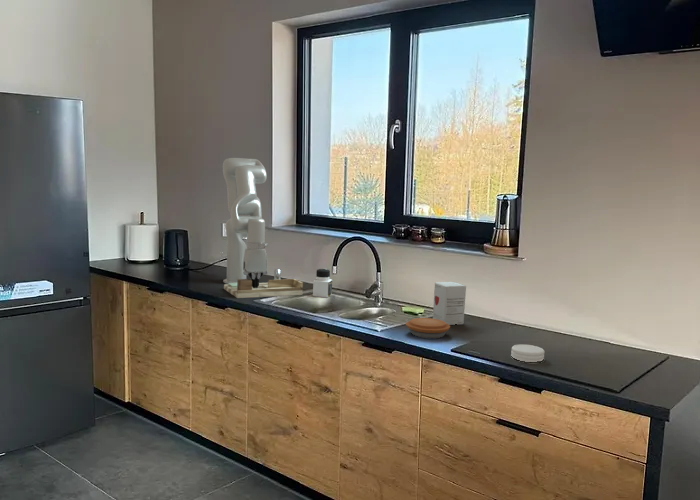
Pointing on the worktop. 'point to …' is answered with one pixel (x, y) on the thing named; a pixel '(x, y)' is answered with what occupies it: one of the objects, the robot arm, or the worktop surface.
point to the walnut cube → (244, 284)
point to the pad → (233, 285)
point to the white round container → (527, 353)
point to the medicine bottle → (322, 283)
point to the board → (269, 289)
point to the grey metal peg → (277, 274)
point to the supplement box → (449, 302)
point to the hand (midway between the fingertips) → (255, 287)
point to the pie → (427, 327)
